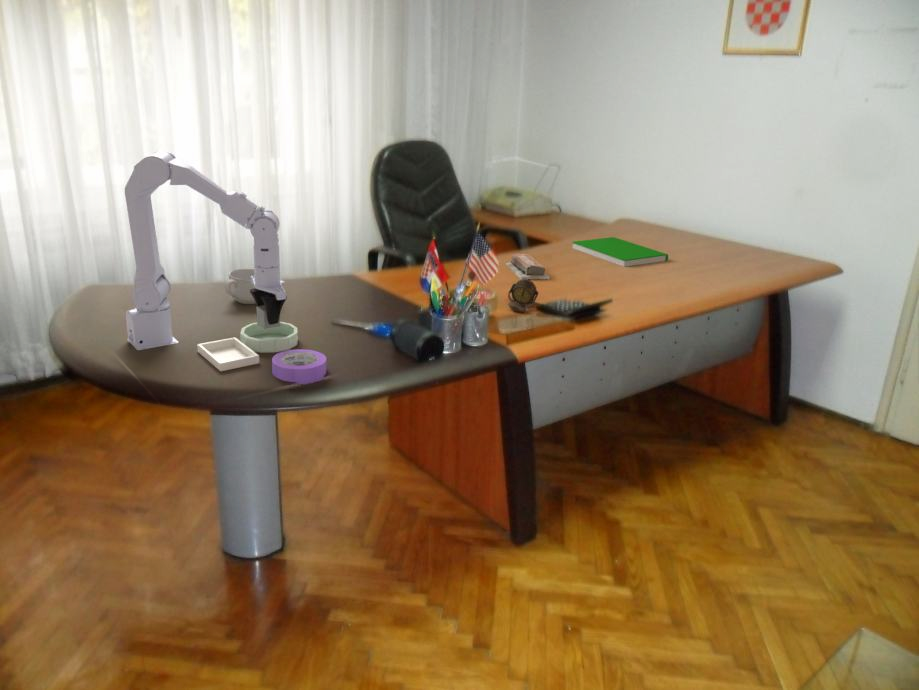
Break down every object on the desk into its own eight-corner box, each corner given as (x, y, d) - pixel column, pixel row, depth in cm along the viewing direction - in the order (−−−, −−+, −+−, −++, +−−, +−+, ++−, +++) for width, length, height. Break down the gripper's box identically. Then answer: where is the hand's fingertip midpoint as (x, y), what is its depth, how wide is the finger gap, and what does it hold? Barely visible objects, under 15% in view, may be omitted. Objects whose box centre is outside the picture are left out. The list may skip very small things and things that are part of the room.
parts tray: (220, 373, 164) (219, 363, 163) (198, 354, 173) (197, 344, 173) (259, 365, 169) (259, 355, 169) (235, 346, 179) (235, 337, 178)
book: (623, 268, 268) (624, 260, 267) (571, 249, 290) (572, 241, 289) (667, 261, 280) (668, 254, 279) (613, 244, 302) (614, 236, 300)
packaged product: (506, 252, 260) (533, 252, 262) (505, 266, 262) (532, 265, 264) (522, 266, 244) (551, 266, 246) (520, 281, 245) (549, 280, 248)
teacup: (254, 292, 217) (253, 265, 214) (278, 301, 211) (277, 274, 208) (211, 302, 207) (210, 274, 204) (235, 312, 201) (234, 283, 198)
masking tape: (288, 360, 173) (288, 345, 172) (335, 369, 171) (335, 353, 169) (262, 380, 163) (261, 363, 162) (311, 389, 160) (311, 372, 159)
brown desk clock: (550, 288, 220) (523, 273, 225) (527, 293, 210) (499, 277, 215) (542, 310, 223) (516, 295, 228) (519, 315, 213) (492, 300, 218)
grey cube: (264, 329, 177) (263, 311, 175) (257, 323, 180) (256, 306, 178) (280, 326, 179) (279, 308, 178) (272, 321, 182) (272, 303, 181)
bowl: (256, 358, 173) (255, 344, 172) (232, 340, 182) (232, 327, 181) (307, 347, 181) (307, 334, 179) (282, 331, 190) (282, 318, 189)
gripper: (297, 270, 171) (298, 326, 176) (269, 255, 182) (271, 309, 187) (268, 274, 167) (270, 332, 172) (241, 259, 178) (244, 313, 183)
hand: (269, 320), depth 179 cm, fingers closed on grey cube, 4 cm apart
